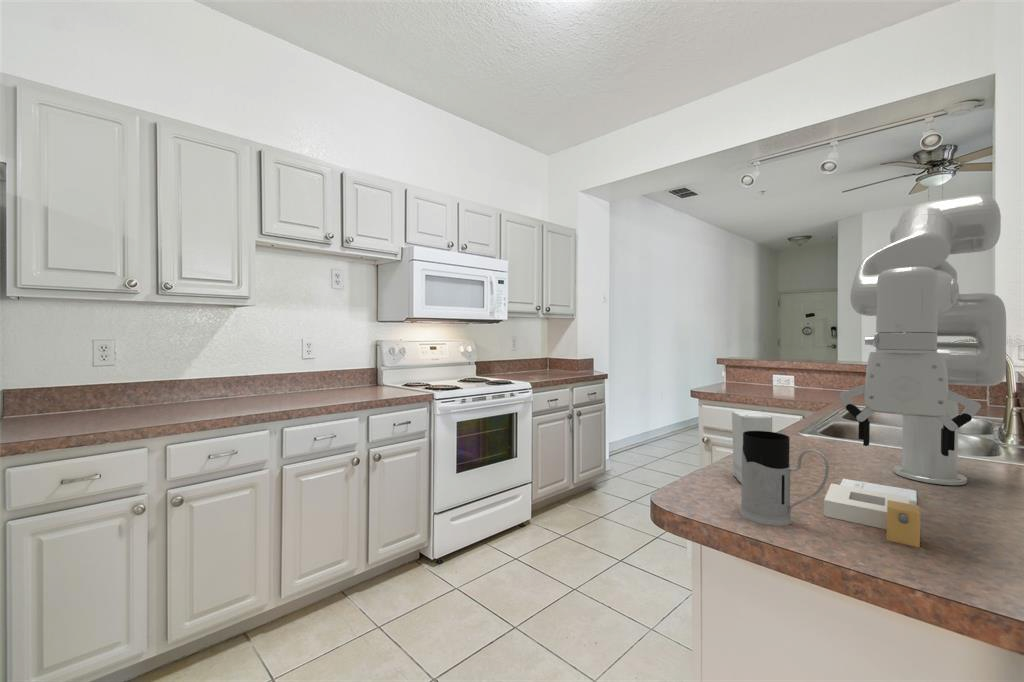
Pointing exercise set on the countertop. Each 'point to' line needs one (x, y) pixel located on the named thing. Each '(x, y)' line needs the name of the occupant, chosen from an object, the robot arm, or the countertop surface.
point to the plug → (903, 523)
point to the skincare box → (741, 425)
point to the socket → (859, 505)
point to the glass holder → (769, 478)
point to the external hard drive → (882, 489)
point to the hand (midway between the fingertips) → (903, 449)
